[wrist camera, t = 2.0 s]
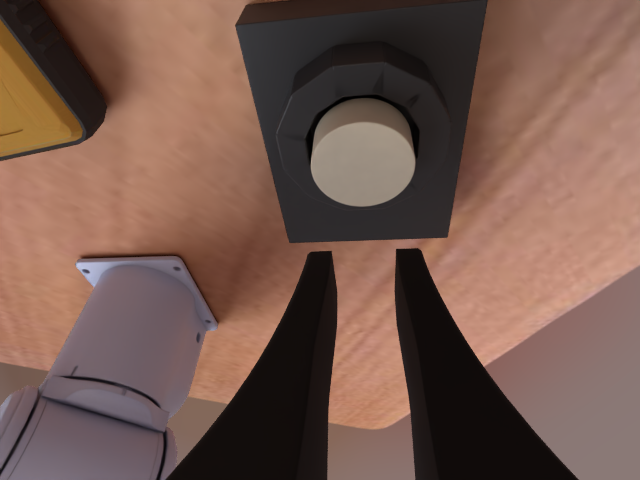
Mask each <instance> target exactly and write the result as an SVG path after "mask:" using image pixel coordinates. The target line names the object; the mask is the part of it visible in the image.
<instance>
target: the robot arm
mask: <svg viewBox="0 0 640 480" xmlns="http://www.w3.org/2000/svg"><path fill="white" fill-rule="evenodd" d="M75 265H76V267H77V268H78V269H79V271H80V272H81V273H82V274H83V275H84V276H85V277H86V279H87V280H88V281H89V282H90V283H91V284H92V286H93V287H94V289H93V291H92V293H91V295H90V297H89V299H88V300H87V302H86V304H85V306H84V308H83V310H82V312H81V313H80V315H79V317H78V319H77V321H76V323H75V325H74V327H73V328H72V330H71V332H70V334H69V336H68V338H67V340H66V341H65V343H64V345H63V347H62V349H61V351H60V353H59V354H58V356H57V358H56V360H55V362H54V364H53V366H52V367H51V369H50V371H49V373H48V375H47V377H46V379H45V381H44V382H43V383H42V384H41V385H40V386H39V387H38V388H37V387H34V386H31V385H28V386H25V387H24V388H23V389H20V390H18V391H15V392H13V393H11V394H10V395H9V396H8V398H7V399H6V400H5V401H4V403H3V404H2V406H1V407H0V480H327V452H328V450H327V449H328V407H329V393H330V384H331V375H332V366H333V357H334V348H335V339H336V330H337V286H336V279H335V272H334V265H333V258H332V251H316V252H310V253H309V254H308V255H307V259H306V262H305V265H304V268H303V271H302V274H301V276H300V279H299V282H298V284H297V286H296V289H295V291H294V294H293V296H292V298H291V300H290V302H289V304H288V306H287V309H286V311H285V313H284V315H283V317H282V319H281V321H280V323H279V325H278V327H277V328H276V330H275V332H274V334H273V336H272V338H271V340H270V341H269V343H268V345H267V347H266V348H265V350H264V352H263V353H262V355H261V357H260V358H259V360H258V362H257V363H256V365H255V366H254V368H253V369H252V371H251V373H250V374H249V376H248V377H247V379H246V380H245V381H244V383H243V384H242V386H241V387H240V389H239V390H238V392H237V393H236V394H235V396H234V397H233V399H232V400H231V401H230V403H229V404H228V405H227V407H226V408H225V410H224V411H223V412H222V413H221V415H220V416H219V417H218V418H217V420H216V421H215V422H214V423H213V425H212V426H211V427H210V428H209V430H208V431H207V432H206V433H205V435H204V436H203V437H202V438H201V440H200V441H199V442H198V443H197V444H196V446H195V447H194V448H193V449H192V450H191V451H190V452H189V453H188V455H187V456H186V457H185V458H184V459H183V460H182V461H181V462H180V464H179V465H178V466H177V467H176V463H177V446H176V442H175V436H174V433H173V431H172V430H171V429H170V428H168V427H166V425H167V423H168V419H170V418H171V417H172V416H173V415H174V414H175V413H176V412H177V411H178V410H179V409H180V408H181V406H182V405H183V403H184V402H185V400H186V398H187V396H188V394H189V391H190V387H191V384H192V380H193V377H194V373H195V370H196V366H197V362H198V359H199V355H200V352H201V348H202V345H203V341H204V337H205V334H206V331H208V330H216V329H217V328H218V323H217V322H216V320H215V318H214V316H213V314H212V313H211V311H210V309H209V307H208V306H207V304H206V302H205V300H204V298H203V297H202V295H201V293H200V291H199V289H198V288H197V286H196V284H195V282H194V280H193V279H192V277H191V275H190V273H189V272H188V270H187V268H186V266H185V264H184V263H183V261H182V259H181V258H179V257H177V256H155V257H124V258H92V259H78V260H77V262H76V263H75ZM395 304H396V320H397V328H398V334H399V341H400V347H401V353H402V359H403V365H404V371H405V377H406V383H407V389H408V395H409V403H410V411H411V424H412V437H413V451H414V465H415V478H416V479H415V480H578V479H577V478H576V476H575V475H574V474H573V473H572V472H571V471H570V470H569V469H568V468H567V467H566V466H565V465H564V464H563V463H562V462H561V461H560V460H559V458H558V457H557V456H556V455H555V454H554V453H553V452H552V451H551V449H550V448H549V447H548V446H547V445H546V444H545V443H544V442H543V441H542V440H541V438H540V437H539V436H538V435H537V434H536V433H535V431H534V430H533V429H532V428H531V427H530V425H529V424H528V423H527V422H526V421H525V419H524V418H523V417H522V416H521V415H520V413H519V412H518V411H517V410H516V408H515V407H514V406H513V405H512V404H511V402H510V401H509V400H508V399H507V398H506V396H505V395H504V394H503V392H502V391H501V390H500V388H499V387H498V386H497V384H496V383H495V382H494V380H493V379H492V378H491V376H490V375H489V374H488V372H487V371H486V369H485V368H484V367H483V365H482V364H481V362H480V361H479V359H478V358H477V356H476V355H475V354H474V352H473V350H472V349H471V347H470V346H469V344H468V343H467V341H466V340H465V338H464V336H463V335H462V333H461V332H460V330H459V328H458V327H457V325H456V323H455V321H454V320H453V318H452V316H451V314H450V313H449V311H448V309H447V307H446V305H445V303H444V302H443V300H442V298H441V296H440V294H439V292H438V290H437V288H436V286H435V284H434V281H433V279H432V277H431V275H430V273H429V270H428V268H427V265H426V263H425V260H424V257H423V254H422V251H421V250H420V249H418V248H412V249H396V269H395Z"/></svg>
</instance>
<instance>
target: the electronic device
mask: <svg viewBox="0 0 640 480" xmlns="http://www.w3.org/2000/svg"><path fill="white" fill-rule="evenodd" d="M106 109H107V105H106V103H105V100H104V98H103V96H102V95H101V93H100V92H99V90H98V89H97V87H96V86H95V84H94V83H93V81H92V80H91V78H90V77H89V76H88V74H87V73H86V71H85V70H84V68H83V67H82V65H81V64H80V62H79V61H78V59H77V58H76V56H75V55H74V53H73V52H72V51H71V49H70V48H69V46H68V45H67V43H66V42H65V40H64V39H63V37H62V36H61V34H60V33H59V31H58V30H57V28H56V27H55V26H54V24H53V23H52V21H51V20H50V18H49V17H48V15H47V14H46V12H45V11H44V9H43V8H42V6H41V5H40V3H39V2H38V1H37V0H0V161H3V160H7V159H12V158H17V157H21V156H26V155H31V154H35V153H40V152H45V151H49V150H54V149H58V148H63V147H68V146H72V145H77V144H80V143H82V142H83V141H85V140H87V139H88V138H90V137H91V136H93V134H94V133H95V132H96V131H97V129H98V128H99V127H100V126H101V124H102V123H103V122H104V118H105V114H106Z"/></svg>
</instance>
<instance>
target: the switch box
mask: <svg viewBox="0 0 640 480" xmlns="http://www.w3.org/2000/svg"><path fill="white" fill-rule="evenodd" d="M487 1H488V0H289V1H280V2H270V3H261V4H252V5H246V6H245V8H244V10H243V12H242V14H241V16H240V17H239V19H238V21H237V23H236V25H235V26H236V30H237V34H238V38H239V42H240V46H241V50H242V54H243V58H244V62H245V66H246V70H247V75H248V79H249V83H250V87H251V91H252V95H253V99H254V103H255V107H256V111H257V115H258V119H259V123H260V127H261V131H262V135H263V139H264V143H265V147H266V151H267V155H268V159H269V163H270V167H271V171H272V175H273V179H274V183H275V187H276V191H277V195H278V199H279V203H280V207H281V211H282V215H283V219H284V223H285V227H286V231H287V235H288V240H289V243H304V242H333V241H362V240H392V239H421V238H447V237H448V232H449V226H450V220H451V214H452V208H453V202H454V196H455V190H456V184H457V178H458V172H459V167H460V161H461V155H462V149H463V143H464V137H465V131H466V125H467V119H468V113H469V107H470V102H471V96H472V90H473V84H474V78H475V72H476V66H477V60H478V54H479V48H480V42H481V37H482V31H483V25H484V19H485V13H486V7H487ZM357 98H372V99H377V100H381V101H384V102H386V103H388V104H390V105H392V106H393V107H395V108H396V109H398V110H399V111H400V112H401V113H402V114H403V116H404V117H405V118H406V120H407V122H408V124H409V127H410V130H411V136H412V142H413V148H414V154H415V171H414V174H413V176H412V178H411V181H410V182H409V184H408V185H407V186H406V188H405V189H404V190H403V191H402V192H401V193H399V194H398V195H397V196H395V197H394V198H392V199H390V200H388V201H386V202H384V203H381V204H377V205H372V206H350V205H346V204H342V203H340V202H337V201H335V200H333V199H331V198H330V197H328V196H327V195H326V194H324V193H323V192H322V191H321V190H320V188H319V187H318V186H317V184H316V183H315V181H314V178H313V176H312V172H311V157H312V148H313V140H314V134H315V130H316V127H317V125H318V123H319V121H320V120H321V118H322V117H323V116H324V115H325V114H326V113H327V112H328V111H329V110H330V109H332V108H333V107H334V106H336V105H338V104H340V103H342V102H345V101H347V100H351V99H357Z"/></svg>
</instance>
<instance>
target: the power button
mask: <svg viewBox="0 0 640 480" xmlns="http://www.w3.org/2000/svg"><path fill="white" fill-rule="evenodd" d="M414 171H415V154H414V148H413V142H412V136H411V130H410V127H409V124H408V122H407V120H406V118H405V117H404V116H403V114H402V113H401V112H400V111H399V110H398V109H396V108H395V107H393V106H392V105H390V104H388V103H386V102H384V101H381V100H377V99H372V98H357V99H351V100H347V101H345V102H342V103H340V104H338V105H336V106H334V107H333V108H332V109H330V110H329V111H328V112H327V113H326V114H325V115H324V116H323V117H322V118H321V120H320V121H319V123H318V125H317V127H316V130H315V134H314V140H313V148H312V157H311V172H312V176H313V178H314V181H315V183H316V184H317V186H318V187H319V188H320V190H321V191H322V192H323V193H324V194H326V195H327V196H328V197H330V198H331V199H333V200H335V201H337V202H340V203H342V204H346V205H350V206H372V205H377V204H381V203H384V202H386V201H388V200H390V199H392V198H394V197H395V196H397V195H398V194H399V193H401V192H402V191H403V190H404V189H405V188H406V186H407V185H408V184H409V182H410V181H411V178H412V176H413V174H414Z"/></svg>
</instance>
